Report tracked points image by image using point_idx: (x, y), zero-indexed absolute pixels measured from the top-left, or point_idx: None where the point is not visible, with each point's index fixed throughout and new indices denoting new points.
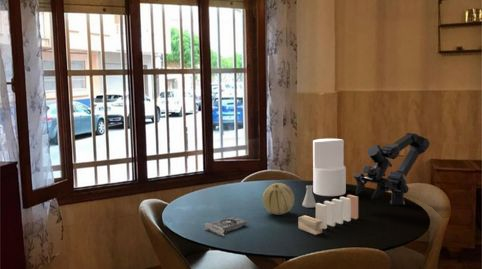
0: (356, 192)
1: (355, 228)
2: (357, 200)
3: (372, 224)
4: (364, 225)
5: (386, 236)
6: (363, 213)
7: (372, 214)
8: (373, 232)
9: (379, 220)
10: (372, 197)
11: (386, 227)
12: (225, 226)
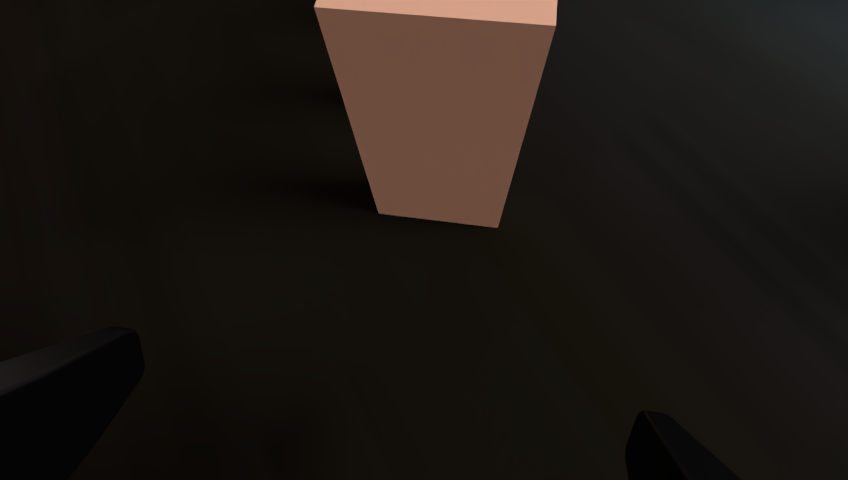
0: (659, 428)
1: (272, 7)
2: (337, 51)
3: (186, 154)
4: (239, 94)
5: (14, 11)
6: (425, 416)
7: (312, 456)
8: (121, 19)
9: (161, 297)
10: (113, 330)
11: (49, 162)
12: None
